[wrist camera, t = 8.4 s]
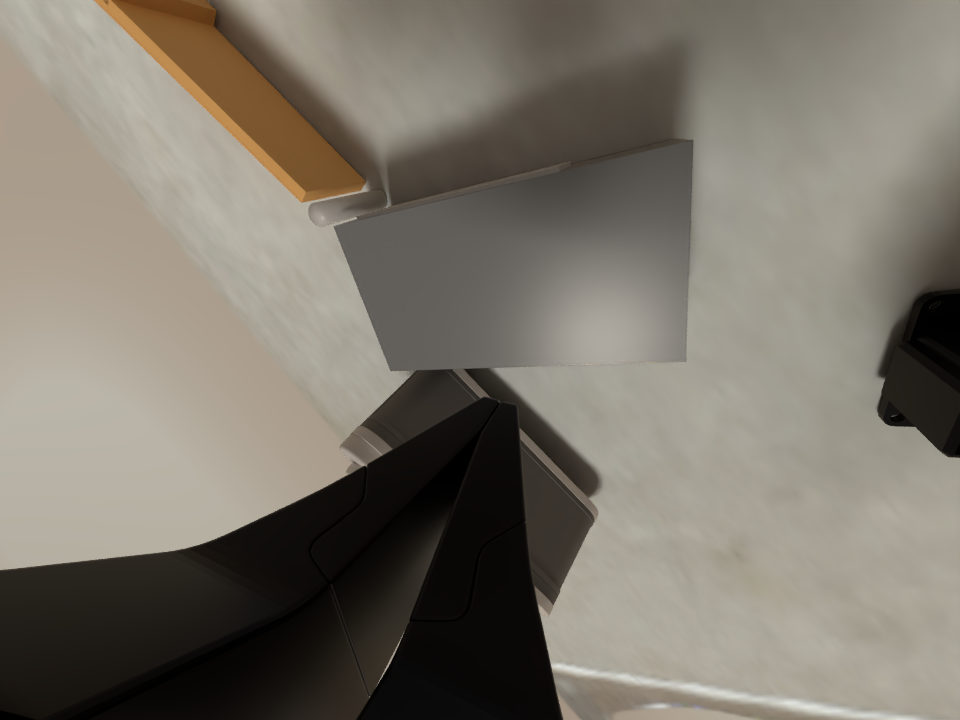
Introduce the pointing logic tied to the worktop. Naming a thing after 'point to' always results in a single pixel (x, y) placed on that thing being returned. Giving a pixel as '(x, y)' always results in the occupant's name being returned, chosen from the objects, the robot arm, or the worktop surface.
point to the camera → (548, 491)
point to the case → (529, 265)
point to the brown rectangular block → (235, 94)
